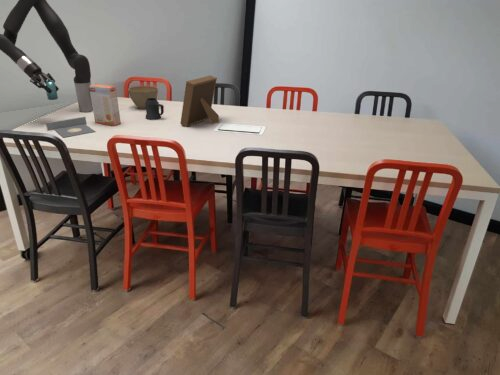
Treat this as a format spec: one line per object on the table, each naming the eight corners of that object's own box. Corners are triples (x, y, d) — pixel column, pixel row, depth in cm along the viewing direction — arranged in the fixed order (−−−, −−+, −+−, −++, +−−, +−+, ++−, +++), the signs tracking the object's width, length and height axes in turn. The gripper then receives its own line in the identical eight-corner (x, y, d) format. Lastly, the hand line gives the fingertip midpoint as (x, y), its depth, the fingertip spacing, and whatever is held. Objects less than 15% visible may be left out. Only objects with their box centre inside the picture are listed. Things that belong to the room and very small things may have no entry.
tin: (56, 97, 206) (53, 80, 202) (59, 99, 202) (55, 82, 198) (46, 98, 203) (42, 81, 199) (49, 100, 199) (45, 83, 195)
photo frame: (180, 125, 209) (177, 80, 198) (203, 116, 226) (202, 74, 215) (201, 130, 202) (200, 83, 191) (224, 121, 219) (224, 77, 208)
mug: (142, 118, 220) (140, 99, 215) (152, 115, 227) (150, 96, 222) (158, 121, 215) (157, 102, 210) (168, 117, 223) (166, 98, 218)
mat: (85, 124, 207) (85, 123, 207) (95, 131, 197) (95, 131, 196) (54, 129, 198) (54, 129, 198) (63, 137, 187) (63, 137, 187)
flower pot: (155, 111, 234) (153, 91, 229) (126, 110, 235) (124, 91, 229) (162, 104, 251) (160, 85, 245) (135, 103, 251) (133, 85, 245)
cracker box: (121, 123, 210) (116, 86, 201) (113, 126, 205) (108, 88, 196) (102, 120, 215) (96, 83, 206) (94, 122, 211) (88, 85, 201)
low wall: (86, 123, 209) (84, 116, 207) (86, 124, 208) (85, 117, 207) (47, 130, 197) (45, 122, 196) (47, 130, 197) (46, 123, 195)
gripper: (22, 63, 189) (48, 89, 192) (41, 59, 202) (66, 83, 205) (15, 74, 192) (42, 99, 196) (35, 69, 205) (59, 93, 208)
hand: (54, 91), depth 200 cm, fingers closed on tin, 5 cm apart
